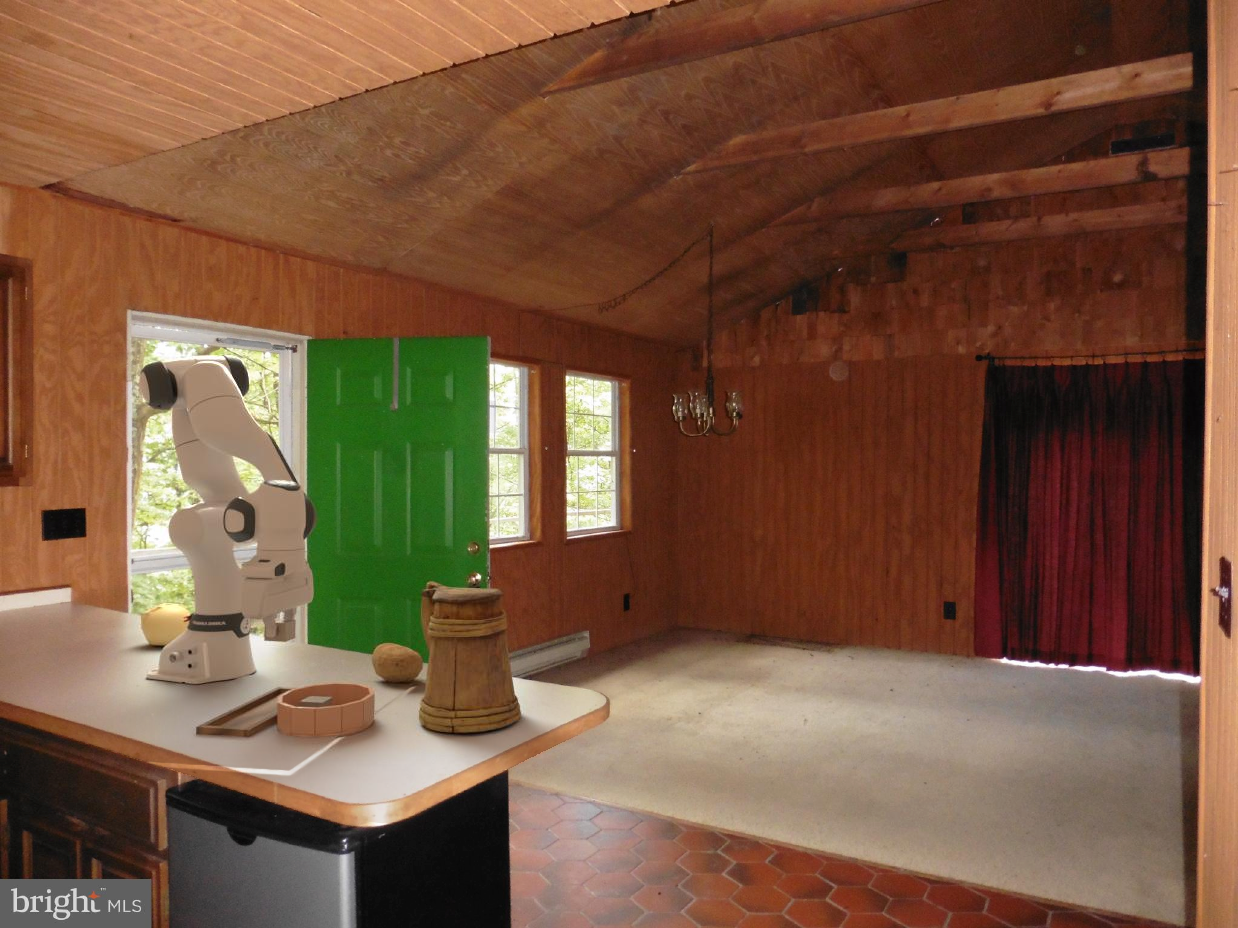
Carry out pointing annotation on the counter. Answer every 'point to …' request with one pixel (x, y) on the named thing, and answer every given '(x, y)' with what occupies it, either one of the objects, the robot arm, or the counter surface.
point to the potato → (396, 663)
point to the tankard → (466, 661)
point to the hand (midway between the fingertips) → (279, 633)
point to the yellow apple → (164, 623)
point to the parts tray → (245, 716)
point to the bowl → (326, 710)
